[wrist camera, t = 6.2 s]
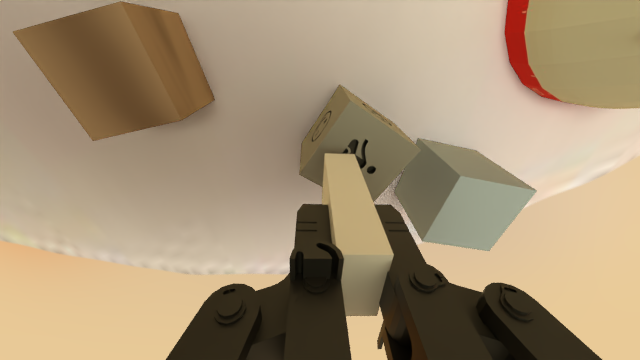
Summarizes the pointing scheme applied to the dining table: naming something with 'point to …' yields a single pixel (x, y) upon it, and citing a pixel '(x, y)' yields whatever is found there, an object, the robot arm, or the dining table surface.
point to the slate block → (459, 196)
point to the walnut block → (120, 67)
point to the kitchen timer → (577, 50)
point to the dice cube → (357, 142)
